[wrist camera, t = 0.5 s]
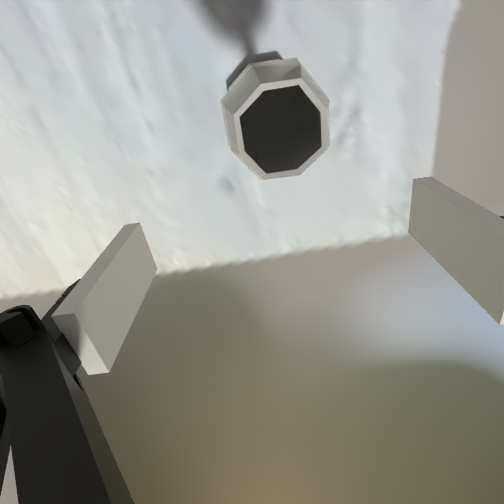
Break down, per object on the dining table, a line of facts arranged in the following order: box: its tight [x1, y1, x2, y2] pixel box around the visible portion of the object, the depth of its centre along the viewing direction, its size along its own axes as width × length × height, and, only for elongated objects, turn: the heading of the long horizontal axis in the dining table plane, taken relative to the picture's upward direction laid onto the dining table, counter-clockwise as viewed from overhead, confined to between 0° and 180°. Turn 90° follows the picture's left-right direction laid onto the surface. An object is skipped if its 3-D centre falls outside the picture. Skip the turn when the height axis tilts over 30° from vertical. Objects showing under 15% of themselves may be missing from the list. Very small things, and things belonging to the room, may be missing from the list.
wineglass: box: [221, 57, 330, 180], centre depth 28 cm, size 9×9×21 cm
